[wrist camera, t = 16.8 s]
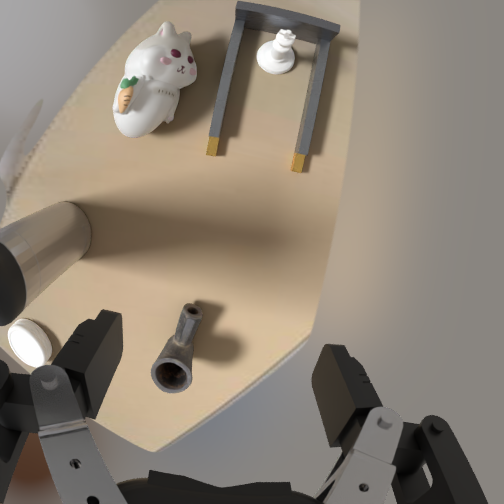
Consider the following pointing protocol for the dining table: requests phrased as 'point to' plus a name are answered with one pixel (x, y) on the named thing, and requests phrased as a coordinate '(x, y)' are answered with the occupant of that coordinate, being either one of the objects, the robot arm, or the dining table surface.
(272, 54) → the chess piece
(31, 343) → the round white light
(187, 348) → the pipe
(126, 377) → the dining table surface
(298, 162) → the bracket
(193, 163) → the dining table surface
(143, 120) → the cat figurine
